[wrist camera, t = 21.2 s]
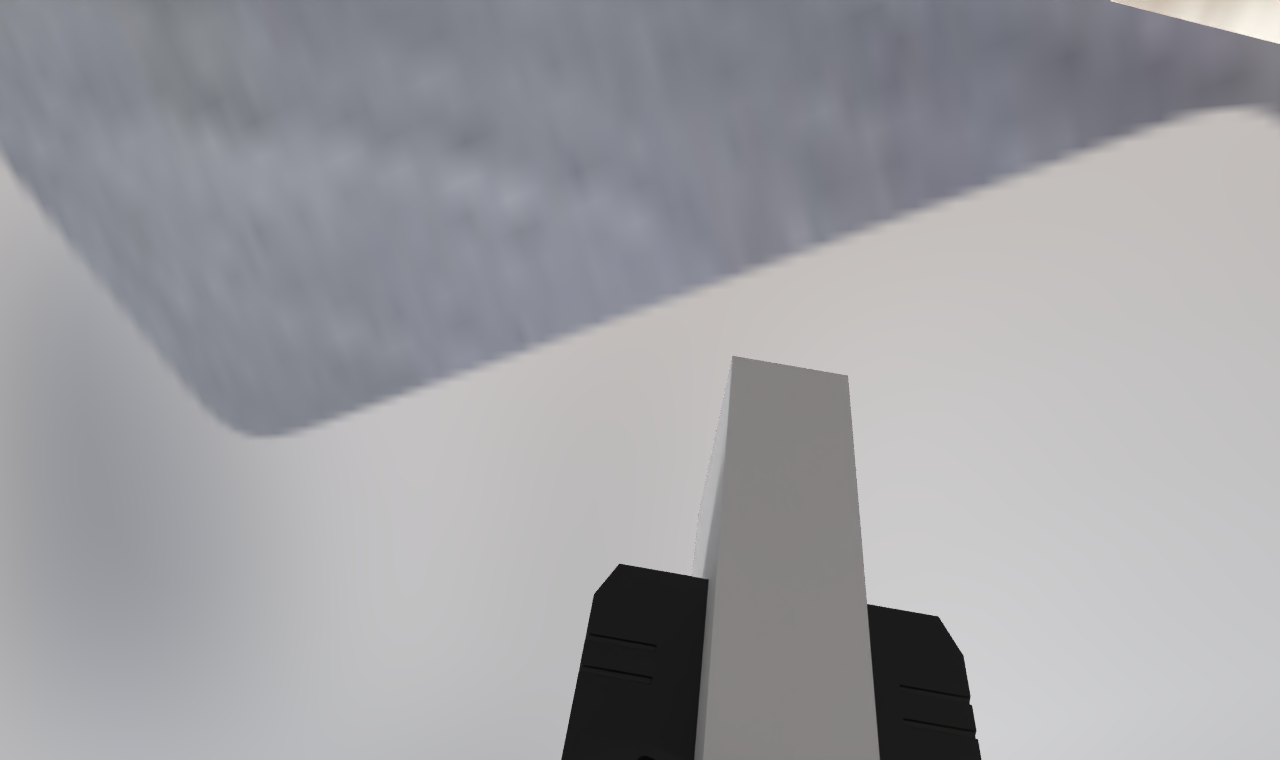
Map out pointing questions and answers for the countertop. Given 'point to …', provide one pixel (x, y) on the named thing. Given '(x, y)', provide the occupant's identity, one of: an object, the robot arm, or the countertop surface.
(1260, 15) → the domino
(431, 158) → the countertop surface
